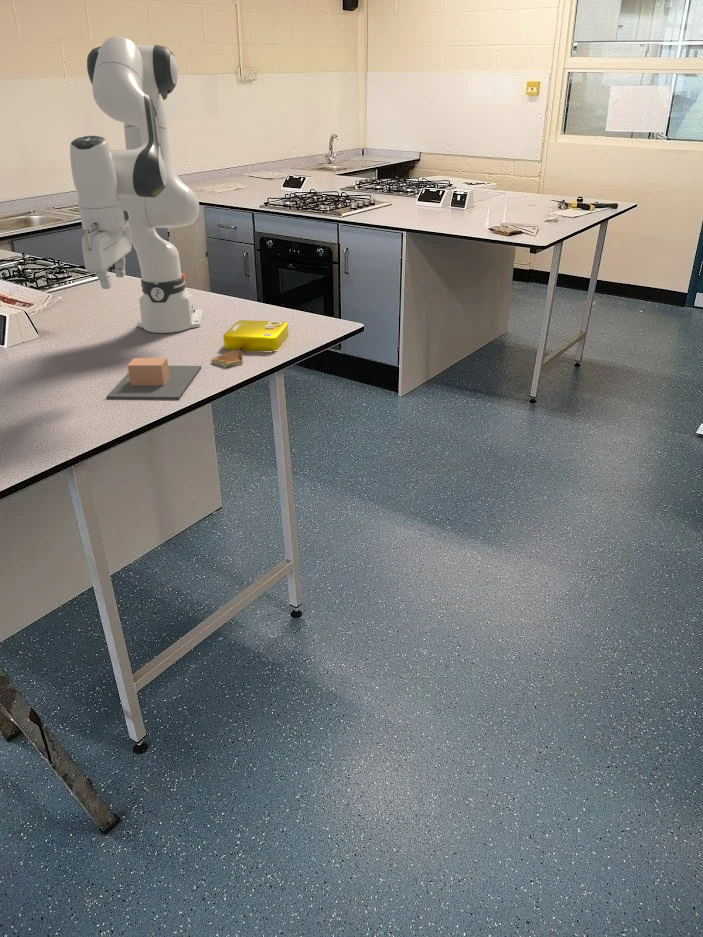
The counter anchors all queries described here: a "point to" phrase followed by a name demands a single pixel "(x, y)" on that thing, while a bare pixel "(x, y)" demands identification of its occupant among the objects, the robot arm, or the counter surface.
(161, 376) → the terracotta block
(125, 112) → the robot arm
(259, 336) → the element tile
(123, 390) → the charcoal mat
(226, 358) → the shard
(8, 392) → the counter surface
